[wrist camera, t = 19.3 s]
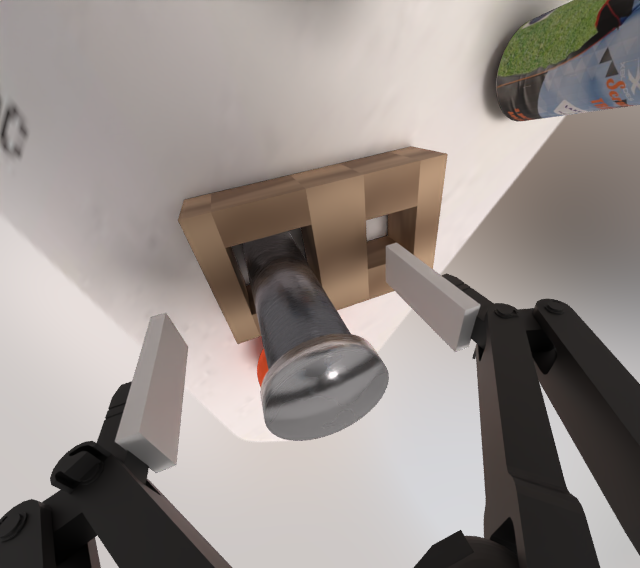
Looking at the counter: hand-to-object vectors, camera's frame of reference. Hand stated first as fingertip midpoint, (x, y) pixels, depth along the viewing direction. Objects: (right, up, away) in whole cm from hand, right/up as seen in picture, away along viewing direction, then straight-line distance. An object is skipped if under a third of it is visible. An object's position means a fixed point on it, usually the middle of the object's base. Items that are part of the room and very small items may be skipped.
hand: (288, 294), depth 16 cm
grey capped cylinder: (-2, +3, +5) cm, 7 cm away
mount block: (+2, +5, +6) cm, 8 cm away
